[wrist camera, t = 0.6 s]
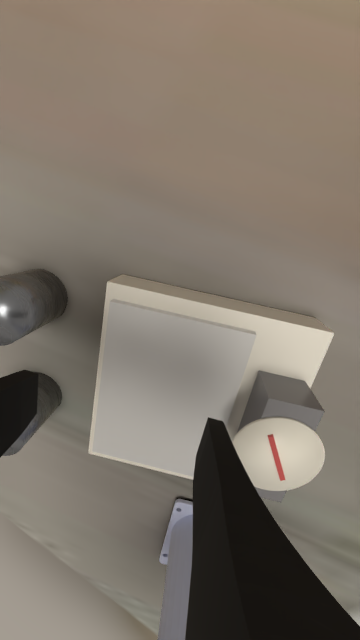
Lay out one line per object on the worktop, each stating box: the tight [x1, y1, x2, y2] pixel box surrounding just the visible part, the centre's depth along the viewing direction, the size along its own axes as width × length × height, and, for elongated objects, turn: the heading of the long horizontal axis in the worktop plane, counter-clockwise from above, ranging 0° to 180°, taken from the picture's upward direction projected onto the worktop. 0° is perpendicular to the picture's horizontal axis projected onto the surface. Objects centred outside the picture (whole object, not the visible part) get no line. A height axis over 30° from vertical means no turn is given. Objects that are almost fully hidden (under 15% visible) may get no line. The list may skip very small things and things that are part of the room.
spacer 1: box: [0, 269, 68, 346], centre depth 18 cm, size 4×4×5 cm
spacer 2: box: [2, 372, 62, 456], centre depth 21 cm, size 4×4×5 cm
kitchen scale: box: [88, 274, 334, 502], centre depth 18 cm, size 14×15×6 cm
